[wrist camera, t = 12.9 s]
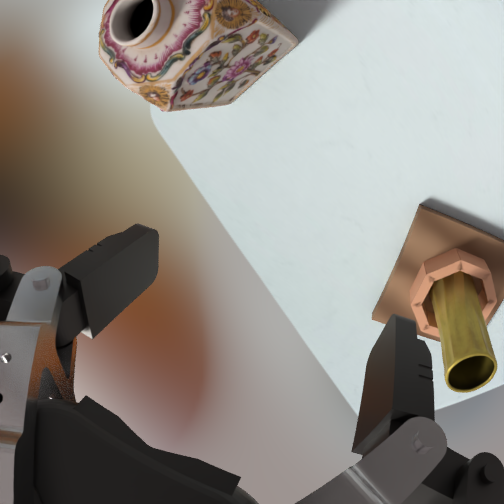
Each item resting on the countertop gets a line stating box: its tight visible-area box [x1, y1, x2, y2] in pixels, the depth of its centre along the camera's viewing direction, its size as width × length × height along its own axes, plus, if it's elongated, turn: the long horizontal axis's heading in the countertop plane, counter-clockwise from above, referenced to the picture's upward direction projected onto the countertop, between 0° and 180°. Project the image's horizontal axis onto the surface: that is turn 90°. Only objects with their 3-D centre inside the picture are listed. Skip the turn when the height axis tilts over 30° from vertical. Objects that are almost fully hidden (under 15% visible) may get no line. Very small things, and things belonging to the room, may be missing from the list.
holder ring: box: [410, 248, 497, 337], centre depth 33 cm, size 10×10×3 cm
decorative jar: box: [99, 0, 298, 112], centre depth 24 cm, size 12×12×18 cm
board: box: [372, 204, 504, 342], centre depth 35 cm, size 16×16×2 cm
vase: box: [429, 271, 497, 393], centre depth 28 cm, size 6×6×14 cm
